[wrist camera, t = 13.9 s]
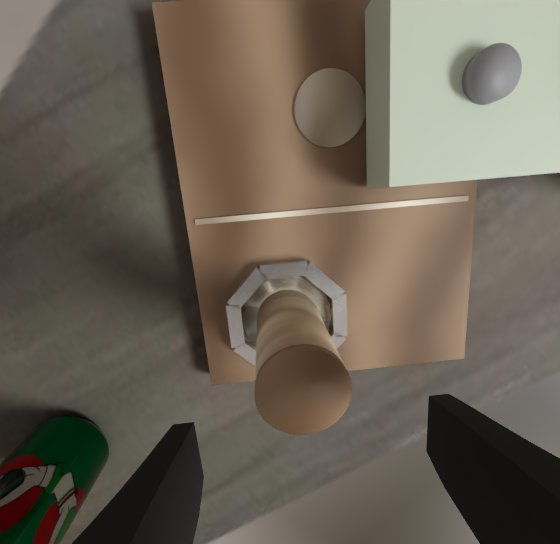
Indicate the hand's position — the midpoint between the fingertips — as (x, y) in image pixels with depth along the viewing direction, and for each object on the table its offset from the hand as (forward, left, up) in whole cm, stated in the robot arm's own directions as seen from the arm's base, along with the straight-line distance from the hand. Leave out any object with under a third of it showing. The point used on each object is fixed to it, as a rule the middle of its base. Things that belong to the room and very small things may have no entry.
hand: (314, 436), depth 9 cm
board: (+3, +6, -10) cm, 12 cm away
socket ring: (0, 0, -9) cm, 9 cm away
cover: (+9, +11, -9) cm, 17 cm away
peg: (0, 0, -9) cm, 9 cm away
